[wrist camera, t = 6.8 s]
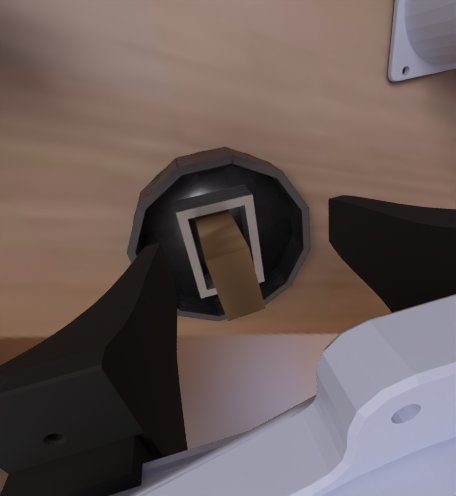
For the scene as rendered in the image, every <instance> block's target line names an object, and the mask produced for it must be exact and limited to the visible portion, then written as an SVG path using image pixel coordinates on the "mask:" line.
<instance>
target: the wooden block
mask: <svg viewBox="0 0 456 496" xmlns="http://www.w3.org/2000/svg"><path fill="white" fill-rule="evenodd" d="M195 220H196V224H197V228H198V232H199V237H200V241H201V245H202V249H203V253H204V257H205V262H206V264H207V267H208V270H209V272H210V275H211V278H212V280H213V283H214V286H215V288H216V291H217V293H218V296H219V299H220V301H221V304H222V307H223V309H224V312H225V315H226V317H227V320H228V321H230V320H233V319H236V318H238V317H241V316H244V315H247V314H250V313H253V312H256V311H259V310H261V309H264V308H265V305H264V301H263V298H262V294H261V290H260V287H259V283H258V279H257V276H256V272H255V268H254V265H253V261H252V257H251V254H250V250H249V247H248V245H247V243H246V241H245V239H244V237H243V236H242V234H241V232H240V230H239V228H238V226H237V224H236V222H235V221H234V219H233V217H232V215H231V213H230V211H229V209H227V210H223V211H219V212H215V213H210V214H206V215H202V216H198V217H195Z"/></svg>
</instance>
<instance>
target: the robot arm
mask: <svg viewBox="0 0 456 496" xmlns="http://www.w3.org/2000/svg"><path fill="white" fill-rule="evenodd" d="M404 67H405V73H404V74H402V70H403V68H404ZM451 69H456V0H395V4H394V15H393V25H392V36H391V46H390V57H389V68H388V78H389V80H390V81H401V80H406V79H410V78H415V77H419V76H424V75H428V74H433V73H438V72H442V71H447V70H451ZM329 242H330V243H331V245H332V246H333V248H334V249H335V250H336V252H337V253H338V254H339V256H340V257H341V258H342V259H343V260H344V261H345V262H346V263H347V264H348V265H349V267H350V268H351V269H352V270H353V271H354V272H355V273H356V274H357V275H358V276H359V277H360V278H361V279H362V280H363V281H364V282H365V283H366V284H367V285H368V286H369V287H370V288H371V289H372V290H373V291H374V292H375V293H376V294H377V295H378V296H379V297H380V298H381V299H382V300H383V302H384V303H385V304H386V305H387V307H388V308H389V309H390V310H391V312H392V313H390V314H386V315H383V316H379V317H376V318H372V319H369V320H366V321H363V322H361V323H359V324H357V325H355V326H353V327H351V328H349V329H347V330H345V331H343V332H341V333H340V334H339V335H338V336H337V337H336V338H335V339H334V340H333V341H332V342H331V343H330V344H329V345H328V346H327V347H326V348H325V349H324V351H323V353H322V356H321V359H320V362H319V366H318V369H317V372H316V376H317V394H316V395H315V396H313V397H311V398H309V399H308V400H306V401H304V402H302V403H300V404H298V405H296V406H294V407H293V408H291V409H289V410H287V411H285V412H283V413H282V414H280V415H278V416H276V417H274V418H272V419H270V420H268V421H266V422H265V423H263V424H261V425H259V426H257V427H256V428H253V429H252V430H250V431H247V432H244V433H241V434H237V435H234V436H231V437H228V438H224V439H221V440H218V441H215V442H211V443H208V444H205V445H202V446H199V447H195V448H192V449H189V450H188V449H187V442H186V434H185V427H184V419H183V411H182V402H181V394H180V385H179V375H178V365H177V297H176V289H175V282H174V279H173V277H172V274H171V271H170V268H169V266H168V263H167V260H166V257H165V255H164V252H163V249H162V246H161V244H160V243H157V244H153V245H149V246H146V247H144V248H143V250H142V251H141V252H140V253H139V255H138V256H137V257H136V259H135V260H134V261H133V262H132V264H131V265H130V266H129V268H128V269H127V270H126V271H125V273H124V274H123V275H122V276H121V277H120V278H119V279H118V280H117V282H116V283H115V284H114V285H113V286H112V287H111V288H110V289H109V290H108V291H107V292H106V293H105V294H104V295H103V296H102V297H101V298H100V299H99V300H98V301H97V302H96V303H94V304H93V305H92V306H91V307H90V308H89V309H87V310H86V311H85V312H84V313H82V314H81V315H80V316H78V317H77V318H76V319H75V320H73V321H72V322H71V323H69V324H68V325H67V326H65V327H64V328H62V329H61V330H59V331H58V332H56V333H55V334H53V335H52V336H50V337H49V338H47V339H46V340H44V341H43V342H41V343H39V344H38V345H36V346H34V347H33V348H31V349H29V350H27V351H26V352H24V353H22V354H20V355H18V356H17V357H15V358H13V359H11V360H10V361H8V362H6V363H4V364H2V365H1V366H0V468H1V469H2V470H4V471H5V472H7V473H8V474H9V475H8V477H7V480H6V482H5V485H4V487H3V490H2V492H0V496H456V209H441V208H428V207H419V206H412V205H404V204H398V203H391V202H386V201H380V200H374V199H368V198H363V197H356V196H345V195H342V196H338V197H334V198H331V199H329Z"/></svg>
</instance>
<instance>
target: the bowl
mask: <svg viewBox="0 0 456 496" xmlns="http://www.w3.org/2000/svg"><path fill="white" fill-rule="evenodd" d="M227 209H229V211H230V213H231V215H232V217H233V219H234V221H235V222H236V224H237V226H238V228H239V230H240V232H241V234H242V236H243V237H244V239H245V241H246V243H247V245H248V247H249V250H250V254H251V257H252V261H253V265H254V268H255V272H256V276H257V279H258V283H259V287H260V290H261V294H262V298H263V301H264V305H266V304H267V303H268V302H270V301H271V300H272V299H274V298H275V297H276V296H278V295H279V294H280V293H281V292H283V291H284V290H285V289H287V288H288V287H289V286H290V285H291V284H292V282H293V280H294V279H295V277H296V275H297V273H298V271H299V269H300V267H301V265H302V263H303V261H304V260H305V258H306V256H307V254H308V252H309V250H310V229H309V207H308V206H307V204H306V203H305V202H304V200H303V199H302V198H301V196H300V195H299V193H298V192H297V191H296V189H295V188H294V187H293V185H292V184H291V183H290V181H289V180H288V179H287V177H286V176H285V174H284V173H283V172H282V171H281V170H279V169H278V168H277V167H275V166H274V165H272V164H271V163H269V162H267V161H264V160H261V159H259V158H256V157H254V156H251V155H249V154H246V153H242V152H239V151H236V150H233V149H230V148H227V147H222V148H218V149H213V150H208V151H201V152H197V153H194V154H191V155H187V156H182V157H178V158H175V159H174V160H173V161H172V162H171V163H170V164H169V165H168V166H167V167H166V168H165V169H164V170H162V171H161V172H160V173H159V174H158V175H157V176H156V177H155V178H154V179H153V180H152V181H151V182H150V183H149V184H148V185H147V186H146V187H145V188H144V189H143V190H142V191H141V193H140V197H139V201H138V205H137V209H136V212H135V216H134V222H133V228H132V232H131V237H130V241H129V245H128V250H127V254H128V257H129V259H130V261H131V264H132V262H133V261H134V260H135V259H136V257H137V256H138V255H139V253H140V252H141V251H142V250H143V248H144V247H146V246H149V245H153V244H157V243H160V244H161V246H162V249H163V252H164V255H165V257H166V260H167V263H168V266H169V268H170V271H171V274H172V277H173V279H174V282H175V289H176V297H177V315H178V316H184V317H191V318H199V319H206V320H213V321H218V320H219V321H221V320H225V319H227V317H226V315H225V312H224V309H223V307H222V304H221V301H220V299H219V296H218V293H217V291H216V288H215V286H214V283H213V280H212V278H211V275H210V272H209V270H208V267H207V264H206V262H205V257H204V253H203V249H202V245H201V241H200V237H199V232H198V228H197V224H196V220H195V217H198V216H202V215H206V214H210V213H215V212H219V211H223V210H227Z"/></svg>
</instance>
